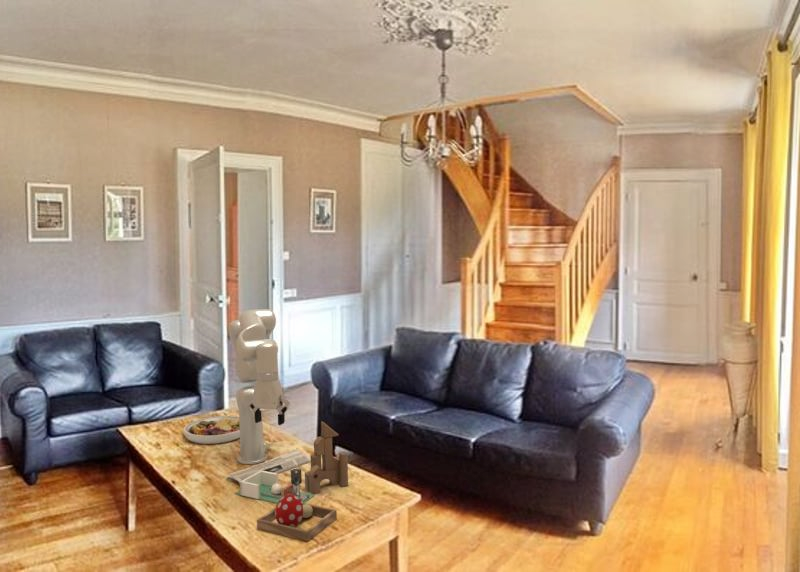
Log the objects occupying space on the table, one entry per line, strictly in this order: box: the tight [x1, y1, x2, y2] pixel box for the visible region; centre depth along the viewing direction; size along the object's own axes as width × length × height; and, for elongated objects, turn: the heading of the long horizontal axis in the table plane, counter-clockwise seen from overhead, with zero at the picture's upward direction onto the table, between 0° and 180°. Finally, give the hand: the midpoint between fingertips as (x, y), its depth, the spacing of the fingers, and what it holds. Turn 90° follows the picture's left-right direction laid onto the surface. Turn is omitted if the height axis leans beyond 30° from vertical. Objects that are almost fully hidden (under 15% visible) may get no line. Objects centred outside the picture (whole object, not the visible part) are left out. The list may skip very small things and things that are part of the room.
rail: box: [261, 487, 312, 503], centre depth 230 cm, size 6×18×1 cm, turn 64°
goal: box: [239, 470, 279, 500], centre depth 235 cm, size 12×8×5 cm, turn 154°
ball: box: [271, 482, 283, 495], centre depth 231 cm, size 4×4×4 cm
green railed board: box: [234, 484, 316, 504], centre depth 232 cm, size 11×28×1 cm, turn 64°
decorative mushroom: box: [275, 494, 313, 528], centre depth 210 cm, size 11×11×15 cm
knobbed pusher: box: [281, 468, 307, 501], centre depth 227 cm, size 6×8×10 cm
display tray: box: [256, 502, 337, 542], centre depth 209 cm, size 17×20×3 cm
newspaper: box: [226, 448, 311, 486], centre depth 256 cm, size 35×12×4 cm, turn 137°
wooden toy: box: [304, 421, 349, 495], centre depth 237 cm, size 16×7×25 cm, turn 120°
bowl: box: [183, 415, 240, 445], centre depth 300 cm, size 30×30×8 cm
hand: (269, 423), depth 229 cm, fingers open, 9 cm apart
